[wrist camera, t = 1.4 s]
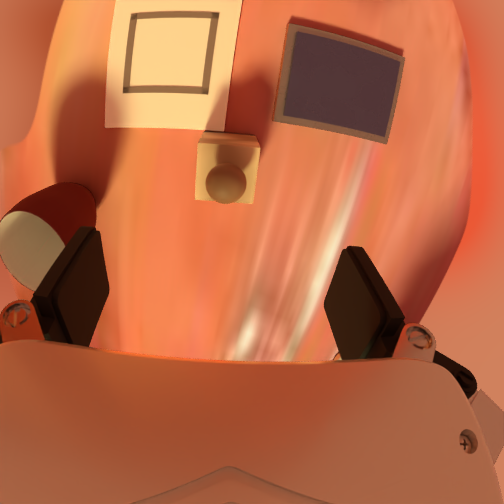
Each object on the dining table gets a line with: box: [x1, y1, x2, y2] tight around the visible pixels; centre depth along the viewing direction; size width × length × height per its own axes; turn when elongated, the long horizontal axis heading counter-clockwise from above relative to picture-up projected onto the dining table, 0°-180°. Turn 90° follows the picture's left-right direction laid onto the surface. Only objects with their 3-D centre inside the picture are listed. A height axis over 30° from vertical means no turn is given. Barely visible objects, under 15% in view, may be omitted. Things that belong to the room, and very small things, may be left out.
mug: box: [0, 182, 96, 291], centre depth 24 cm, size 10×8×10 cm
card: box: [105, 0, 242, 131], centre depth 20 cm, size 11×14×1 cm
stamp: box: [195, 131, 260, 204], centre depth 23 cm, size 4×4×9 cm
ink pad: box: [272, 23, 405, 144], centre depth 22 cm, size 11×9×2 cm
